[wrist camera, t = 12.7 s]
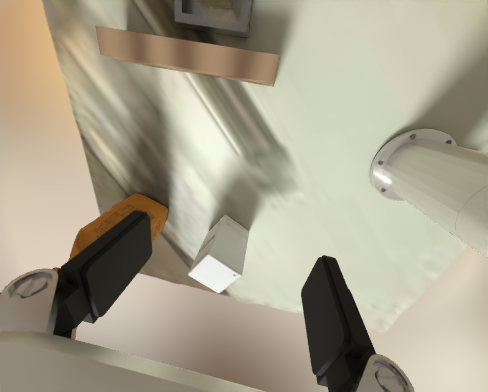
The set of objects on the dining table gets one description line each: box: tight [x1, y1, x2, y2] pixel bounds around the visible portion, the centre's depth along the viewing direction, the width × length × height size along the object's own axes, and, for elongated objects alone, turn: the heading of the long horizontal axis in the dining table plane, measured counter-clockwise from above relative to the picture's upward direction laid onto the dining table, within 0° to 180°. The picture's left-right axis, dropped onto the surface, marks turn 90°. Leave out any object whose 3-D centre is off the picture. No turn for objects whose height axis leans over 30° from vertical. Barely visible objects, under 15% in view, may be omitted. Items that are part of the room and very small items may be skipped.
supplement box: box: [188, 214, 249, 293], centre depth 38 cm, size 7×7×13 cm
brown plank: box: [96, 26, 280, 86], centre depth 27 cm, size 24×3×6 cm, turn 82°
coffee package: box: [52, 193, 168, 272], centre depth 35 cm, size 10×12×22 cm
